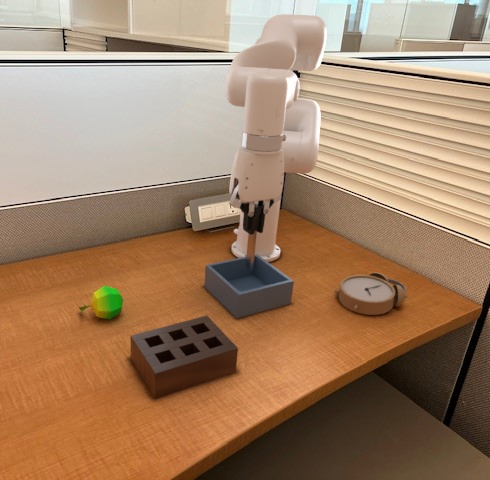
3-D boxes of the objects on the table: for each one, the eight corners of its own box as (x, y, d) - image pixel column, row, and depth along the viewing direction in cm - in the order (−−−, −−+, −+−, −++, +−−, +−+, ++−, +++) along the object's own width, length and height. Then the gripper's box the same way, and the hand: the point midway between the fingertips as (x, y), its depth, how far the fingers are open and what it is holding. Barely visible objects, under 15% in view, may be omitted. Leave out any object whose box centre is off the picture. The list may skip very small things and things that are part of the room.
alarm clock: (328, 281, 106) (385, 262, 109) (328, 299, 108) (383, 280, 111) (360, 308, 96) (421, 286, 100) (359, 327, 98) (419, 305, 102)
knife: (243, 266, 102) (249, 204, 96) (249, 264, 103) (255, 203, 97) (249, 270, 100) (255, 207, 94) (254, 269, 101) (261, 206, 95)
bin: (204, 287, 107) (205, 264, 105) (254, 275, 113) (256, 253, 111) (236, 318, 96) (238, 294, 94) (290, 303, 102) (294, 280, 100)
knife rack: (130, 359, 84) (130, 335, 81) (205, 337, 90) (207, 315, 88) (154, 398, 75) (155, 373, 73) (235, 371, 82) (238, 348, 80)
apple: (122, 278, 94) (77, 287, 90) (131, 309, 92) (84, 319, 88) (115, 291, 100) (72, 299, 96) (123, 319, 98) (79, 329, 94)
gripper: (282, 135, 97) (272, 219, 104) (216, 140, 90) (210, 230, 98) (307, 143, 91) (294, 232, 98) (237, 149, 84) (229, 244, 92)
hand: (252, 230), depth 98 cm, fingers closed on knife, 1 cm apart
